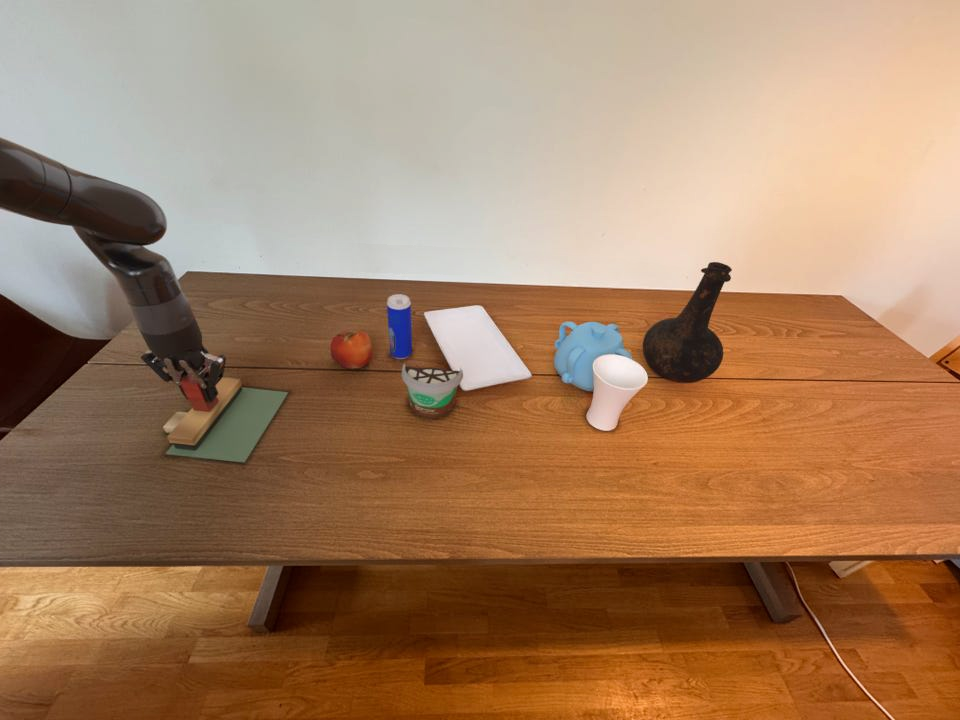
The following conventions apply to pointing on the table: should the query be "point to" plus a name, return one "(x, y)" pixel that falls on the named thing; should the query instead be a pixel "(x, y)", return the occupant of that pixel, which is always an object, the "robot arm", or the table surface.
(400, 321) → the beverage can
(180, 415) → the chip
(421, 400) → the food container
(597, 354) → the decorative pot
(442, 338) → the tray
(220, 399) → the brush
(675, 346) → the glass bottle
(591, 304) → the table surface
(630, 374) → the cup
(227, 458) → the mat
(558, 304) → the table surface
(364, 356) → the tomato
